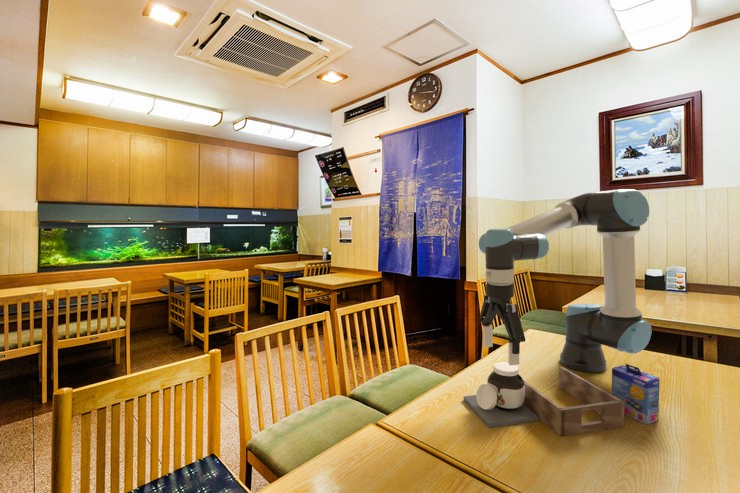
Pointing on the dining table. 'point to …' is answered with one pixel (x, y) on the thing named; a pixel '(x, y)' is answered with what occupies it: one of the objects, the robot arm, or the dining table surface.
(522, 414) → the slate board
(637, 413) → the ink cartridge box
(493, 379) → the spread jar
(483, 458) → the dining table surface
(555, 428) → the wooden tray frame
